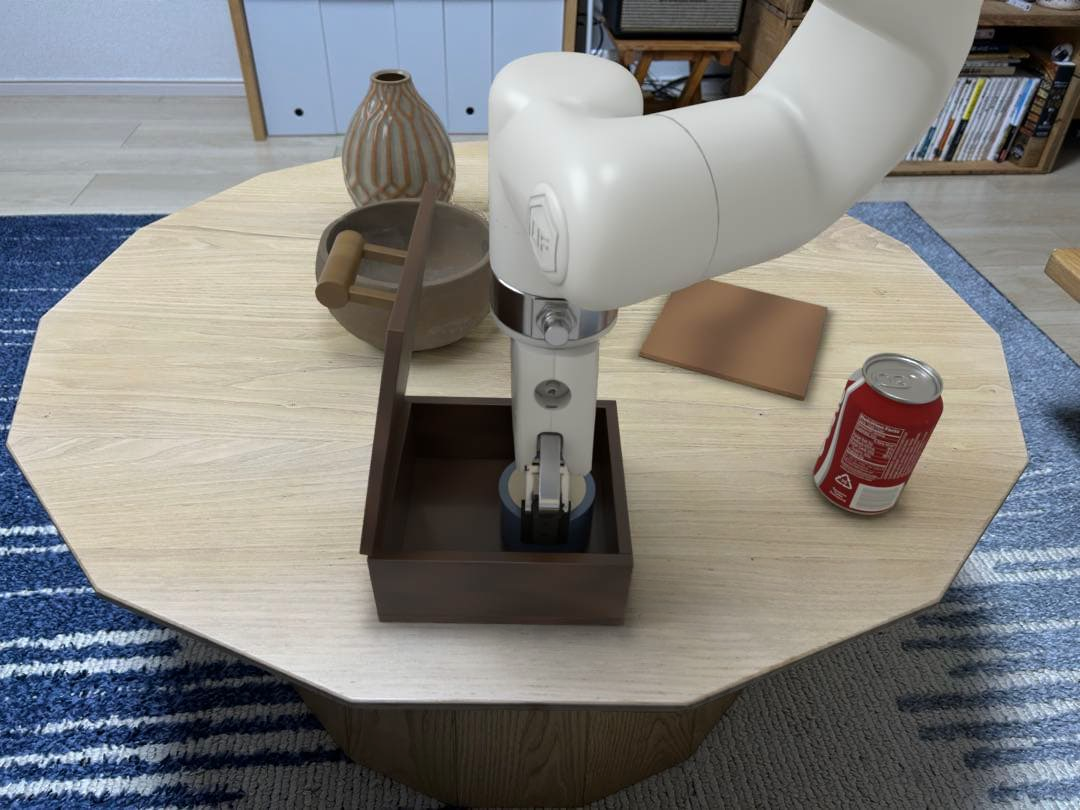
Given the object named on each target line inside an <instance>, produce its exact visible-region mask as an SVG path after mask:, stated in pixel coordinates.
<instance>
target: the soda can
mask: <svg viewBox="0 0 1080 810" xmlns="http://www.w3.org/2000/svg"><path fill="white" fill-rule="evenodd" d="M943 391H944V381H943V378H942V377H941V375H940V373H938V372H937V370H936V369H935V368H933V367H932V366H931V365H930V364H928V363H927V362H925V361H922V360H920V359H919V358H916V357H914V356H911V355H908V354H904V353H898V352H881V353H880V352H879V353H876V354H872V355H871V356H868V357H867V359H865V361H864V362H863V365H862V367H860V368H858V369H856V370H854V372H853V373H851V375H849V377H848V379H847V381H846V383H845V386H844V388H843V391H842V394H841V397H840V399H839V402H838V404H837V407H836V410H835V412H834V415H833V418H832V420H831V423H830V426H829V428H828V431H827V434H826V436H825V439H824V441H823V443H822V446H821V448H820V452H819V454H818V457H817V460H816V462H815V465H814V468H813V473H812V475H813V481H814V484H815V486H816V488H817V489H818V491H819V492H820V493H821V495H822V496H823V497H824V498H825V499H827V500H828V502H830V503H831V504H834V505H835V506H836V507H839V508H841V509H842V510H845V511H848V512H850V513H852V514H853V513H854V514H858V515H865V516H873V515H881V514H884V513H886V512H889V511H890V510H892V509H893V508H894V507H895V506H896V505H897V504H898V502H899V500H900V498H901V496H902V494H903V492H904V490H905V488H906V486H907V484H908V482H909V480H910V478H911V476H912V474H913V472H914V470H915V468H916V466H917V464H918V462H919V460H920V458H921V457H922V455H923V452H924V451H925V449H926V447H927V444H928V442H929V441H930V439H931V437H932V435H933V433H934V431H935V429H936V428H937V427H936V426H937V425H938V423H939V421H940V419H941V417H942V414H943V412H944V401H943V398H942V397H943V396H942V393H943Z"/></svg>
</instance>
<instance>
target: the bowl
mask: <svg viewBox="0 0 1080 810" xmlns="http://www.w3.org/2000/svg"><path fill="white" fill-rule="evenodd" d="M420 201H421V198H400V199H392V200H385V201H379V202H375V203H371V204H368V205H365V206H362V207H359V208H356V207H355V208H354V209H352V210H350V211H347V212H346V213H344V214H343V215H341V216H340V217H338V218H336V219H335V220H333V221H332V222H330V223H329V224H328V225H327V226H326V228H324V230H323V231H322V233H321V236H320V239H319V243H318V247H317V251H316V257H315V267H314V274H315V280H316V285H317V284H318V281H319V279H320V276H321V274H322V271H323V269H324V266H325V264H326V262H327V259H328V257H329V254H330V252H331V249H332V247H333V244H334V242H335V239H336V237H337V235H338V234H339V233H341V232H343V231H346V230H351V231H355V232H357V233H359V234H360V235H361V236H362V237H363V238H364V239H365V242H366V243H367V244H372V245H377V246H382V247H386V248H391V249H396V250H401V251H406V252H407V251H408V248H409V244H410V240H411V236H412V232H413V228H414V224H415V221H416V217H417V213H418V209H419V205H420ZM402 271H403V266H398V265H393V264H388V263H383V262H378V261H373V260H368V259H362V262H361V265H360V268H359V271H358V274H357V277H356V280H355V283H354V286H358V287H363V288H368V289H373V290H378V291H383V292H389V293H394V294H397V290H398V286H399V282H400V278H401V275H402ZM327 310H328V312H329V313H330V314H331V316H332V317H333V318H334V319H335V320H336V321H337V323H338V324H339V325H340V326H342V328H343V329H345V330H346V331H347V332H349V333H350V334H351V335H353V336H354V337H355V338H356V339H358V340H360V341H362V342H364V343H365V344H368V345H370V346H373V347H376V348H379V349H381V350H385V343H386V335H387V328H388V325H389V321H390V317H391V313H392V310H389V309H384V308H378V307H373V306H368V305H363V304H358V303H352V302H348V303H347V304H346V305H345V306H344V307H342V308H339V309H331V308H327ZM489 314H491V313H490V256H489V220H487V219H486V218H484V217H483V216H481V215H480V214H478V213H477V212H476V211H474V210H471V209H469V208H466V207H463V206H461V205H458V204H455V203H452V202H450V203H447V202H444V201H438V200H436V202H435V208H434V215H433V221H432V228H431V234H430V240H429V247H428V253H427V260H426V266H425V272H424V279H423V285H422V292H421V298H420V304H419V311H418V317H417V324H416V330H415V336H414V343H413V349H412V352H419V351H424V350H431V349H437V348H441V347H445V346H447V345H451V344H453V343H456V342H458V341H460V340H461V339H463V338H465V337H467V335H469V334H471V333H472V332H473V331H475V330H476V329H477V328H478V327H479V326H480V325H481V324H482V323H483V322H484V320H485V319H486V318H487V316H488V315H489Z"/></svg>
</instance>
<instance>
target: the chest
mask: <svg viewBox="0 0 1080 810" xmlns="http://www.w3.org/2000/svg"><path fill="white" fill-rule="evenodd" d="M621 441H622V440H621V432H620V422H619V413H618V404H617V400H616V399H597V400H596V412H595V424H594V436H593V449H592V466H591V471H590V473H591V475H592V477H593V479H594V482H595V487H596V494H595V503H594V512H593V521H592V530H591V536H590V539H589V541H588V543H587V545H586V546H585V547H584V549H583V550H582V551H581V552H580V553H539V552H511V551H510V550H509V549H508V548H507V547H506V545H505V544H504V543H503V541H502V539H501V536H500V532H499V497H498V485H499V480H500V477H501V475H502V473H503V472H504V470H505V469H506V468H507V467H508V466H509V465H510V464H511V463H512V462H514V461H515V448H514V435H513V420H512V402H511V397H492V396H491V397H489V396H488V397H487V396H451V395H450V396H448V395H446V396H445V395H405V398H404V403H403V408H402V413H401V418H400V422H399V427H398V432H397V437H396V442H395V446H394V451H393V456H392V461H391V466H390V471H389V475H388V480H387V485H386V490H385V495H384V499H383V504H382V509H381V514H380V519H379V524H378V528H377V533H376V538H375V543H374V548H373V553H372V555H371V556H368V555H366V564H367V569H368V574H369V580H370V583H371V589H372V593H373V599H374V604H375V609H376V614H377V618H378V622H390V623H391V622H393V623H439V624H441V623H442V624H443V623H445V624H449V623H450V624H451V623H452V624H496V625H497V624H498V625H499V624H503V625H552V626H553V625H555V626H557V625H558V626H614V627H615V626H616V627H617V626H618V627H623V626H624V623H625V617H626V611H627V606H628V601H629V594H630V590H631V589H630V588H631V583H632V578H633V572H634V567H635V565H634V564H635V563H634V556H633V555H634V553H633V543H632V535H631V526H630V517H629V516H630V515H629V506H628V496H627V487H626V477H625V468H624V460H623V459H624V458H623V451H622V442H621ZM537 453H540V451H538V452H537ZM560 454H562V452H560Z"/></svg>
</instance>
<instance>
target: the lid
mask: <svg viewBox="0 0 1080 810" xmlns="http://www.w3.org/2000/svg"><path fill="white" fill-rule="evenodd" d="M437 189H438V184H437V183H433V182H428V181H426V182H425V186H424V190H423V194H422V198H421V201H420V205H419V209H418V213H417V217H416V221H415V224H414V228H413V232H412V236H411V240H410V244H409V248H408V251H407V252H406V251H401V250H396V249H391V248H386V247H382V246H377V245H372V244H367V243H366V242H365V239H364V238H363V237H362V236H361V235H360V234H359V233H357V232H355V231H351V230H346V231H343V232H341V233H339V234H338V235H337V237H336V239H335V242H334V244H333V247H332V249H331V252H330V254H329V257H328V259H327V262H326V264H325V266H324V269H323V271H322V274H321V276H320V279H319V281H318V284H317V283H316V287H315V289H314V295H315V298H316V300H317V302H318V303H320V304H321V305H322V306H324V307H325V308H327V309H328V308H331V309H339V308H342V307H344V306H345V305H346V304H347V303H348V302H352V303H358V304H363V305H368V306H373V307H378V308H384V309H389V310H392V313H391V317H390V321H389V325H388V328H387V335H386V343H385V349H384V352H383V360H382V367H381V377H380V383H379V390H378V392H379V393H378V400H377V408H376V415H375V417H376V418H375V424H374V430H373V431H374V432H373V440H372V447H371V455H370V463H369V472H368V480H367V487H366V493H365V494H366V495H365V504H364V511H363V518H362V528H361V534H360V543H359V549H358V554H359V555H362V556H367V555H368V556H371V555H372V553H373V548H374V543H375V538H376V533H377V528H378V524H379V519H380V514H381V509H382V504H383V499H384V495H385V490H386V485H387V480H388V475H389V471H390V466H391V461H392V456H393V451H394V446H395V442H396V437H397V432H398V427H399V422H400V418H401V413H402V408H403V403H404V398H405V396H406V393H407V387H408V380H409V374H410V367H411V362H412V356H413V355H412V354H413V351H412V349H413V343H414V336H415V330H416V324H417V317H418V311H419V304H420V298H421V292H422V285H423V279H424V272H425V266H426V260H427V253H428V247H429V240H430V234H431V228H432V221H433V215H434V208H435V202H436V196H437ZM362 259H368V260H373V261H378V262H383V263H388V264H393V265H398V266H403V271H402V275H401V278H400V282H399V286H398V290H397V294H394V293H389V292H383V291H378V290H373V289H368V288H363V287H358V286H354V283H355V280H356V277H357V274H358V271H359V268H360V265H361V262H362Z"/></svg>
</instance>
